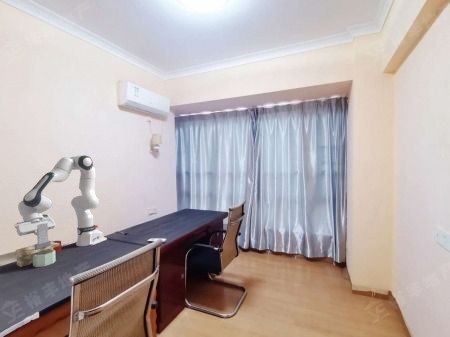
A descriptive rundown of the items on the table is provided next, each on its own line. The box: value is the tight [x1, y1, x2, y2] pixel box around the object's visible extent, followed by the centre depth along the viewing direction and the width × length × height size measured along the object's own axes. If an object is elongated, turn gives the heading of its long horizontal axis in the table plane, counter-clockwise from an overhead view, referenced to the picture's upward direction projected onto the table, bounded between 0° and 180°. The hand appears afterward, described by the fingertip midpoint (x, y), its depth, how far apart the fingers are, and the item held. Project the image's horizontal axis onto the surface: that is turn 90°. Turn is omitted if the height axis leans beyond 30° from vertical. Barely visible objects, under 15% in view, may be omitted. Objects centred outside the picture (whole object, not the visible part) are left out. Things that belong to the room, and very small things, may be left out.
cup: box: [32, 249, 57, 268], centre depth 148 cm, size 11×11×7 cm
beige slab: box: [15, 241, 59, 268], centre depth 151 cm, size 18×14×10 cm
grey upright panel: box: [34, 223, 52, 249], centre depth 148 cm, size 8×2×15 cm, turn 153°
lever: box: [51, 240, 62, 254], centre depth 166 cm, size 18×9×7 cm, turn 169°
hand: (41, 236), depth 149 cm, fingers closed, pressing on grey upright panel
